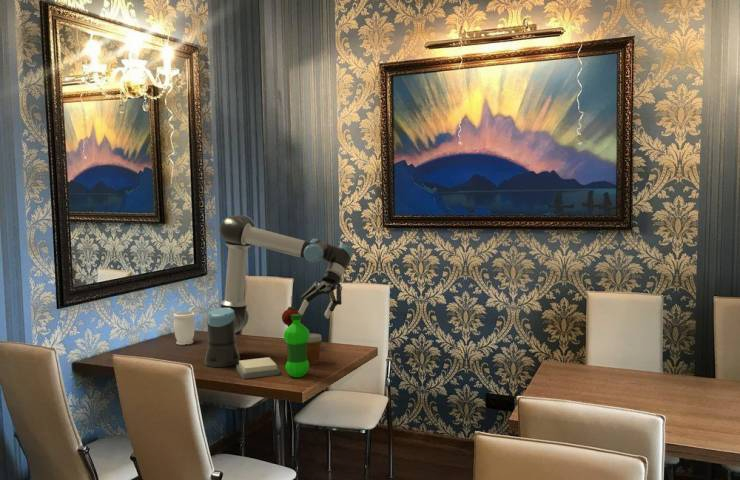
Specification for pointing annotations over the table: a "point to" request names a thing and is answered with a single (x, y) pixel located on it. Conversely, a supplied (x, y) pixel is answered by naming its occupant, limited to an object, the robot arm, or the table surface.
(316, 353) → the disposable coffee cup
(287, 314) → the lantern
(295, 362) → the plastic bottle
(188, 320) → the jar
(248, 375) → the stepped plinth
